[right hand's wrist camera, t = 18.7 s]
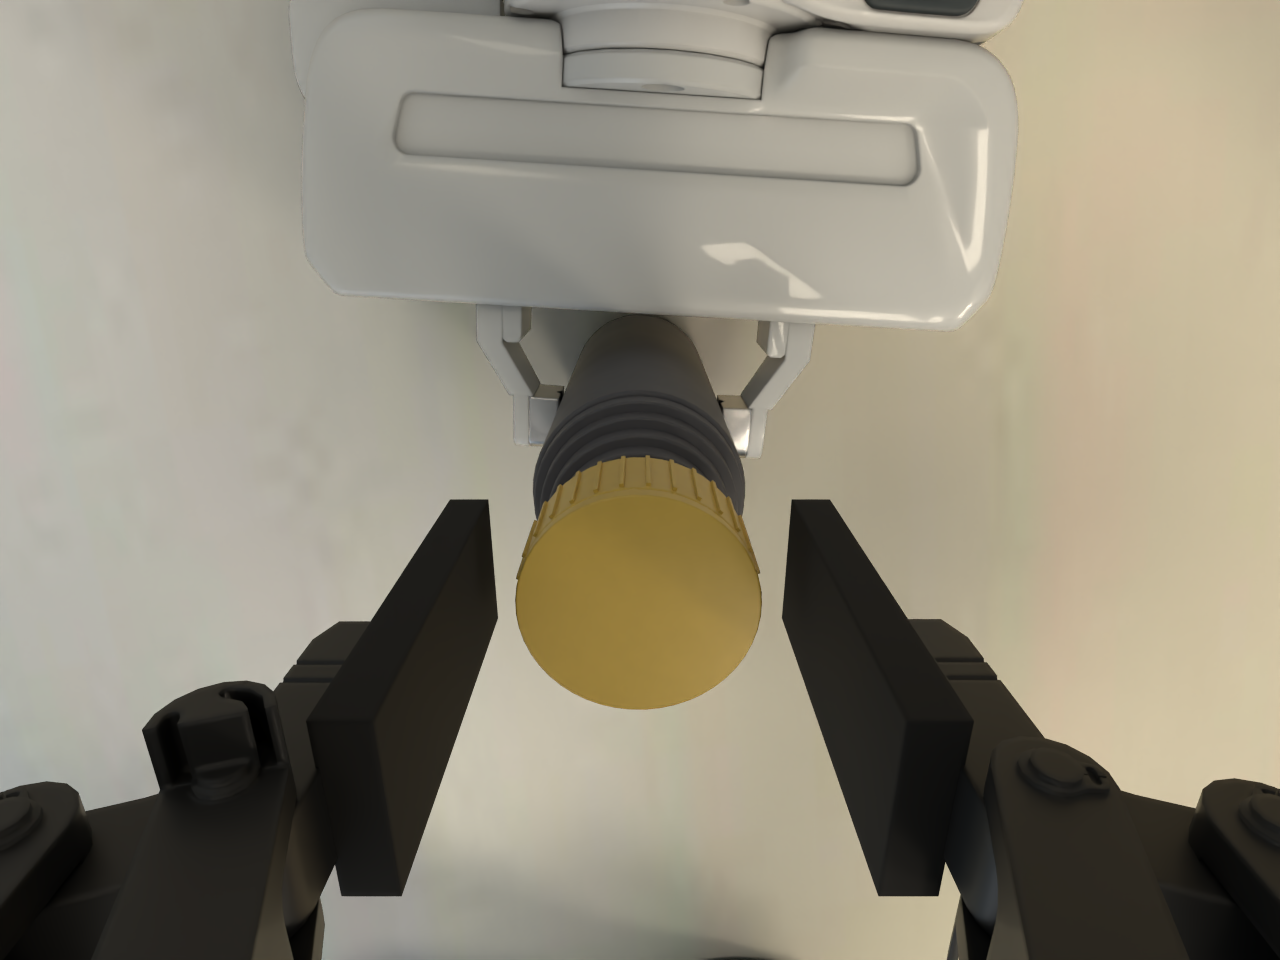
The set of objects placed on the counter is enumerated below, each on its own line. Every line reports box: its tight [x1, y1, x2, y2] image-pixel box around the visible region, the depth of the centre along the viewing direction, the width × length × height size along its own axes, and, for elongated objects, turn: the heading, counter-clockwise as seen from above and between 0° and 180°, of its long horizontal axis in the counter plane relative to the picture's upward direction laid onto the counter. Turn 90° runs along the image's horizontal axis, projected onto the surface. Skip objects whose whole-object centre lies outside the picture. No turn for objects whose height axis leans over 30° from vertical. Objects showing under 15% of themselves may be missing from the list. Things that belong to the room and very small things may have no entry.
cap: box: [515, 455, 762, 709], centre depth 14 cm, size 4×4×2 cm
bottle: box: [533, 315, 745, 521], centre depth 22 cm, size 5×5×18 cm
